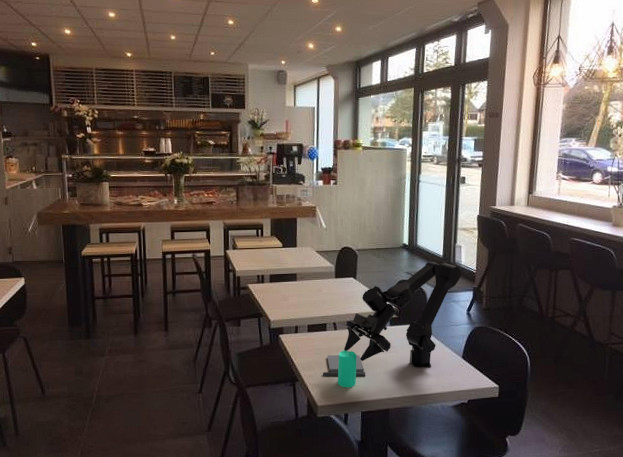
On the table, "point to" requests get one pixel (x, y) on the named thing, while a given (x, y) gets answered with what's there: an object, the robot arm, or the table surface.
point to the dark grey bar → (337, 374)
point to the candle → (347, 369)
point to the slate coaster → (334, 361)
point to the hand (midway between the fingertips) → (352, 355)
